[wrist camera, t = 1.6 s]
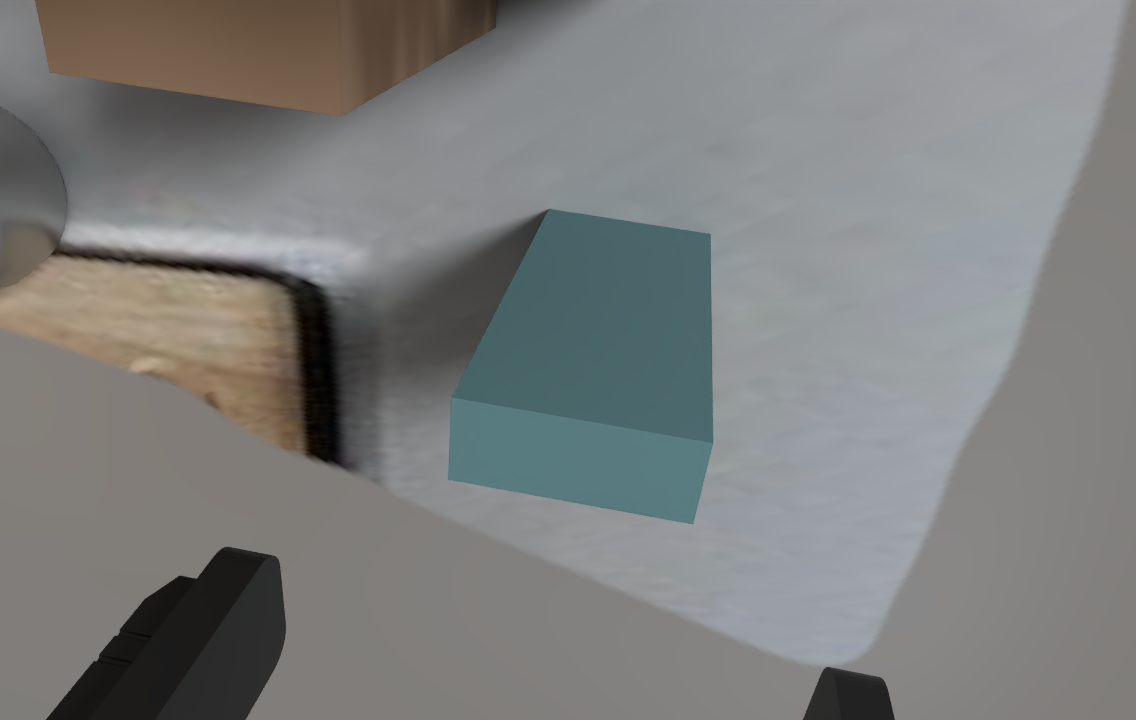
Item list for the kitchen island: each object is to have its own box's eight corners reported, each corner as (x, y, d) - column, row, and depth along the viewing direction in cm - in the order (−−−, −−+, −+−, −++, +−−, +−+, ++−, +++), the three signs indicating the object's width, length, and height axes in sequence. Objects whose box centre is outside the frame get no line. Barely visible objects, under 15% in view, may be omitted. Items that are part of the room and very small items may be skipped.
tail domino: (697, 293, 25) (693, 524, 16) (543, 268, 26) (448, 479, 16) (710, 234, 24) (713, 442, 15) (548, 209, 25) (450, 397, 15)
